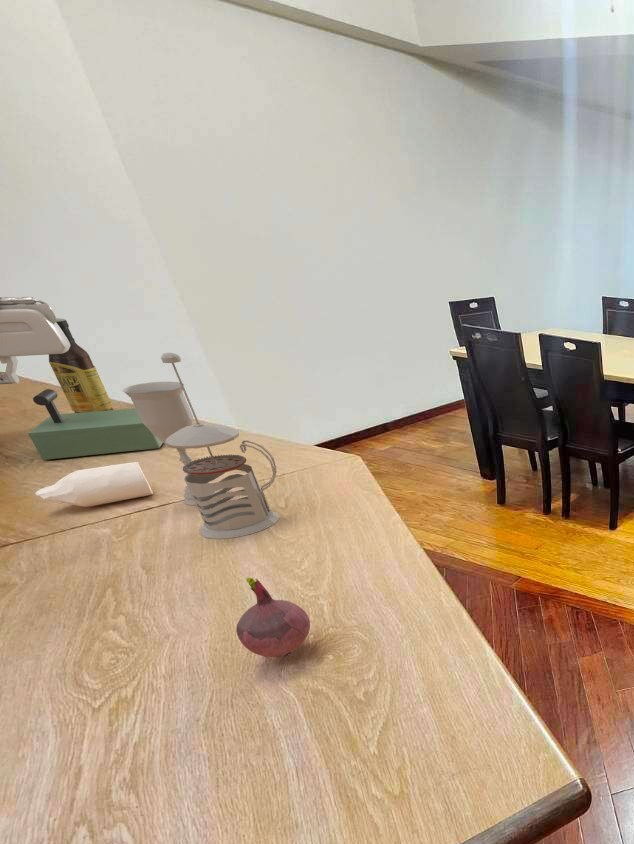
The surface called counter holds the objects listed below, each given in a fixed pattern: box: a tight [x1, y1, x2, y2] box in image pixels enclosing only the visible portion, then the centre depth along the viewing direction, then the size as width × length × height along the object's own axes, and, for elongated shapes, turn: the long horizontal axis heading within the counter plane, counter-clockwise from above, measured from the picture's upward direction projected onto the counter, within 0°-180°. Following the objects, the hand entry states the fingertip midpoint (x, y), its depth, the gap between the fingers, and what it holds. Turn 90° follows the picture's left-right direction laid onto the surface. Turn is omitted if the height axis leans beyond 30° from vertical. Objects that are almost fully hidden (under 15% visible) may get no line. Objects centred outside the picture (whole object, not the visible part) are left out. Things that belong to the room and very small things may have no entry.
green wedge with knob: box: [27, 388, 164, 461], centre depth 111 cm, size 16×12×10 cm
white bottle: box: [34, 461, 154, 508], centre depth 91 cm, size 6×12×6 cm, turn 136°
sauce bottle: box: [48, 317, 114, 413], centre depth 123 cm, size 7×6×20 cm
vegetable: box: [235, 577, 311, 658], centre depth 61 cm, size 6×6×10 cm
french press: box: [160, 352, 280, 540], centre depth 83 cm, size 10×12×25 cm
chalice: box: [122, 381, 220, 506], centre depth 91 cm, size 7×7×18 cm
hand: (6, 383), depth 103 cm, fingers closed
